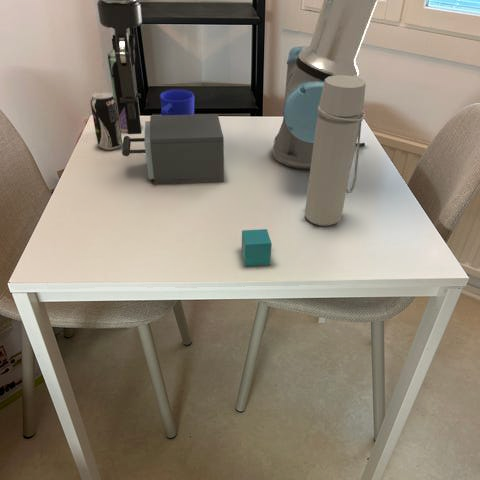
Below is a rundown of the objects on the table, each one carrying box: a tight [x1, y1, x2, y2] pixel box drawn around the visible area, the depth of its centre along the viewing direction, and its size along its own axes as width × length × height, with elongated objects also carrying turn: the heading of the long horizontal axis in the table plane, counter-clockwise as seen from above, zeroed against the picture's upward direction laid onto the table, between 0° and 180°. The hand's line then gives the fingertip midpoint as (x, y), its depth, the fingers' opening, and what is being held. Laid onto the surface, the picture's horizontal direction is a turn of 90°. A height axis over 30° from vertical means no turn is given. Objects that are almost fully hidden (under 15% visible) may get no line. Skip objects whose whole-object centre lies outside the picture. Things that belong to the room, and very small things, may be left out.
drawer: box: [121, 120, 154, 180], centre depth 104 cm, size 19×12×8 cm, turn 97°
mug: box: [159, 89, 195, 115], centre depth 116 cm, size 8×12×10 cm
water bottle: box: [304, 75, 367, 227], centre depth 85 cm, size 9×8×25 cm
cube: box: [240, 228, 272, 267], centre depth 82 cm, size 4×4×4 cm
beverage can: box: [90, 90, 123, 151], centre depth 111 cm, size 6×6×12 cm
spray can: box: [107, 46, 128, 133], centre depth 117 cm, size 6×6×20 cm
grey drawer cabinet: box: [149, 113, 225, 185], centre depth 104 cm, size 15×13×10 cm
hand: (134, 132), depth 100 cm, fingers closed
